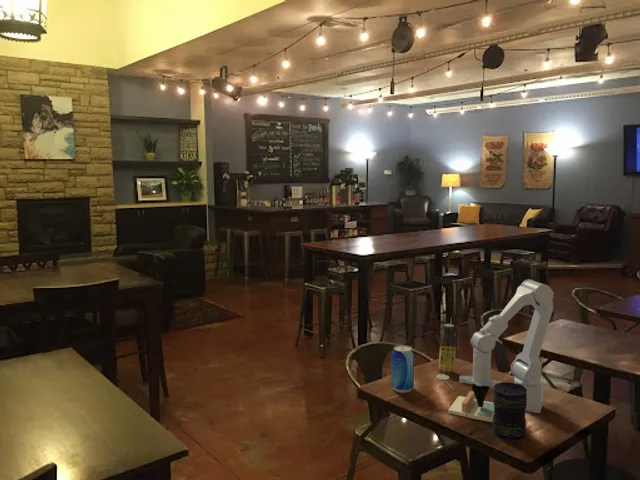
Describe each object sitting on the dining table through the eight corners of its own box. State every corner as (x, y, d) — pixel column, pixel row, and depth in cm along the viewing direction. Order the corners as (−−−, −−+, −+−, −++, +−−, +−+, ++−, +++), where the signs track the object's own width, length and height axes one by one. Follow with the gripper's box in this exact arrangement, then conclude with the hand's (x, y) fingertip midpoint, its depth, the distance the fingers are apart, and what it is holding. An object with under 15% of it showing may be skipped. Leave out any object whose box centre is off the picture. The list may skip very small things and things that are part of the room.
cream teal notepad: (502, 407, 193) (502, 404, 193) (494, 422, 182) (494, 419, 182) (476, 402, 198) (476, 399, 198) (466, 417, 187) (467, 413, 186)
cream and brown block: (475, 402, 198) (475, 390, 197) (466, 416, 187) (466, 404, 186) (458, 399, 201) (458, 387, 200) (448, 413, 190) (448, 401, 189)
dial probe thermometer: (447, 389, 209) (434, 374, 223) (447, 391, 209) (434, 376, 224) (460, 388, 209) (446, 373, 224) (460, 391, 209) (446, 375, 224)
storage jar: (504, 423, 182) (506, 379, 180) (532, 435, 174) (533, 389, 172) (485, 432, 176) (487, 387, 174) (513, 445, 168) (514, 397, 166)
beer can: (418, 390, 210) (418, 348, 207) (401, 395, 205) (402, 353, 203) (403, 383, 216) (403, 343, 214) (386, 388, 212) (386, 347, 210)
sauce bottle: (439, 375, 224) (439, 327, 221) (438, 369, 230) (439, 322, 228) (455, 375, 223) (456, 327, 220) (454, 370, 229) (455, 323, 226)
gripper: (457, 367, 189) (456, 406, 190) (501, 375, 182) (500, 414, 183) (462, 361, 195) (461, 398, 197) (505, 368, 188) (504, 406, 190)
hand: (480, 405), depth 190 cm, fingers closed
